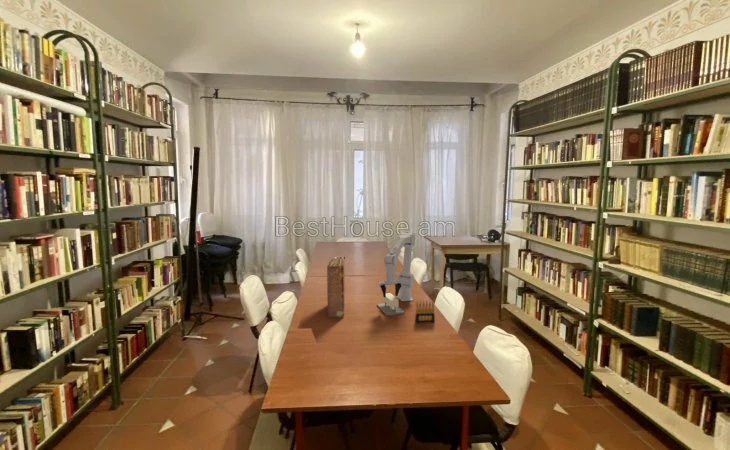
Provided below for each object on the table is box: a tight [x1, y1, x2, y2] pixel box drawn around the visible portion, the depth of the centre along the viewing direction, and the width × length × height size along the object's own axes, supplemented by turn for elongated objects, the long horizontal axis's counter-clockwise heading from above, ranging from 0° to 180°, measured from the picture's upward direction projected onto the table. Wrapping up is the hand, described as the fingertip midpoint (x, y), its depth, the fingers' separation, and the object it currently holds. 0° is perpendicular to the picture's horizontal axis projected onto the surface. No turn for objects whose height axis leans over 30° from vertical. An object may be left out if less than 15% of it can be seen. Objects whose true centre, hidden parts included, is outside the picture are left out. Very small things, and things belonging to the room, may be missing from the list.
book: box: [326, 257, 346, 319], centre depth 227 cm, size 25×9×30 cm, turn 2°
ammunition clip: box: [414, 300, 436, 324], centre depth 210 cm, size 11×2×12 cm, turn 94°
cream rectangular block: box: [382, 292, 400, 307], centre depth 229 cm, size 14×5×4 cm, turn 16°
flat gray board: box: [376, 302, 405, 316], centre depth 230 cm, size 18×11×4 cm, turn 16°
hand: (390, 296), depth 229 cm, fingers open, 7 cm apart
